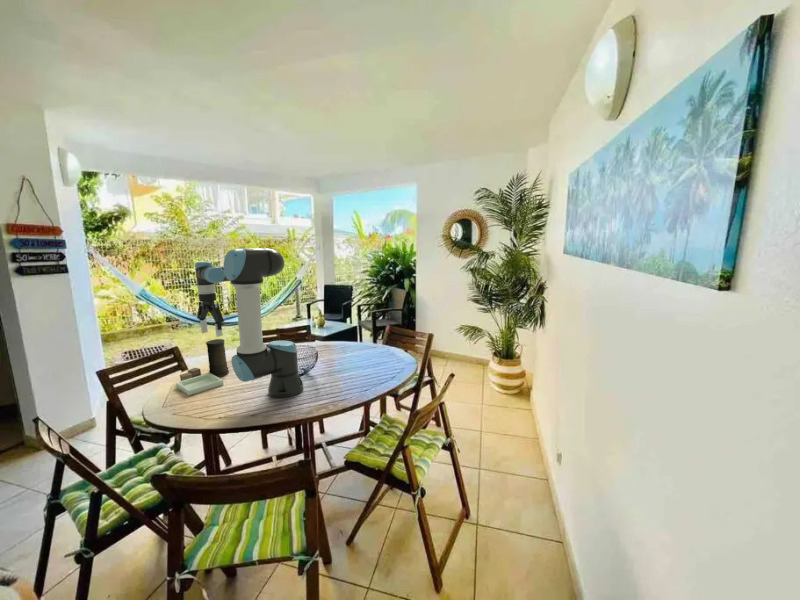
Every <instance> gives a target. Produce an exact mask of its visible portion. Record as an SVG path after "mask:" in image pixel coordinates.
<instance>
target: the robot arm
mask: <svg viewBox="0 0 800 600" xmlns="http://www.w3.org/2000/svg"><path fill="white" fill-rule="evenodd" d="M284 267H285V259H284V256H283V255H282V254H281V253H280V252H279V251H278V250H275V249H273V248H268V247H262V248H259V247H257V248H256V247H255V248H252V247H251V248H236V249H234V248H233V249H230V250H228V251H227V252H226V254H225V256H224V259H223V265H218V266H214V265H213V262H212V261H196V262H195V264H194V270H195V277H196V283H197V285H196V286H197V293H198V308H197V316H196V318H197V319H198V320H199V322H200V331H201V334H205V333H208V332H209V330H208V323H207V315H208V313H209V314H210V315H211V317H212V318H213V320H214V322H215V323H214V329H215V337H221V336H223V328H222V323H224V322H225V320H224V317H223V315H222V312H221V309H220V305H219V303H218V302H216V303H215V301H216V300H217V292H216V284H218V283H223V282H230V284H231V285H232V286H233V287H234V288H235V295H236V307H237V308H236V310H237V324H238V333H239V336H238V337H239V345H238V347H237V348H236V354H234V355H233V356H232V357H231V361H230V362H231V365H232V366H231V367H232V369H233V372H234V374H235V377H236V378H238V380H239V381H240V382H244V383H245V382H246V383H247V382H250V381H255V380H258V379H260V378H263V377H266V376H271V377H270V381H269V385H268V388H267V391H268V392H267V393H268V396H269V397H271V398H275V399H286V398H291V397H294V396H297V395H299V394H301V393H302V391H304V383H303V381H302V378H301V375H300V373H299V364H298V363H299V362H298V350H297V345H296V343H295V342H293V341H292V340H291V341H290V340H273V341H270V342H268V345H267V344H265V343H264V341H263V338H264V337H263V325H262V311H261V310H262V309H261V293H260V286H261V285H262V284H263V283H264V278H265V277H266V278H267V277H273V276H276V275H278V274H280V273H281V272H282V271H283V269H284Z"/></svg>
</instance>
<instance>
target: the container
mask: <svg viewBox="0 0 800 600" xmlns="http://www.w3.org/2000/svg"><path fill="white" fill-rule="evenodd" d="M205 344H206V347H207V348H206V349H207V357H208V367H209V371H208V373H211V374H213V375H215V376H217V377H219V378H222V377H225V376H227V375H228V374H229V373H230V371H229V367H228V362H227V355H226V347H225V339H223V338H217V339H216V338H215V339H210V340H208V341H206V342H205Z"/></svg>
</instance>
